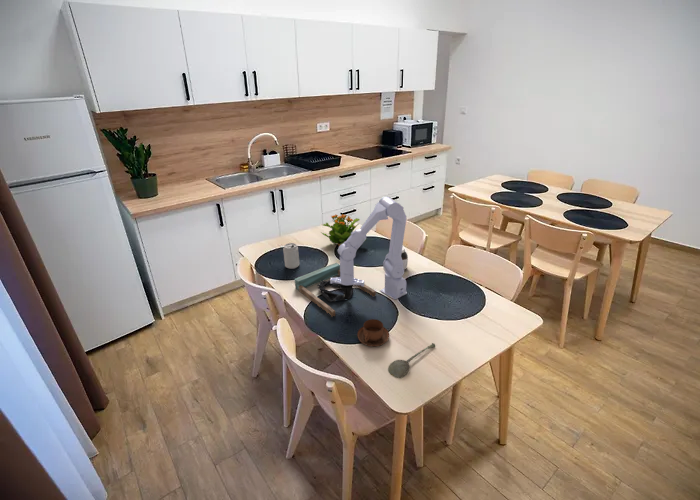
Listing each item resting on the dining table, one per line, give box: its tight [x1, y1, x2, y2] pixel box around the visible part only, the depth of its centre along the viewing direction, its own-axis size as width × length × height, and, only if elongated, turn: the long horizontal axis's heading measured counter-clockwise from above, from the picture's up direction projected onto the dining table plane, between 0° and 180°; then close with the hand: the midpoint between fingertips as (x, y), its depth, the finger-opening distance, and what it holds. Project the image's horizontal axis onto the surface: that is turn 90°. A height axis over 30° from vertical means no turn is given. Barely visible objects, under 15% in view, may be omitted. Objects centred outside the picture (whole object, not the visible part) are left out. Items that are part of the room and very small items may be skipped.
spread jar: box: [383, 245, 409, 272], centre depth 178 cm, size 12×11×12 cm
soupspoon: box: [387, 342, 436, 379], centre depth 124 cm, size 22×3×7 cm
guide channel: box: [294, 262, 377, 318], centre depth 163 cm, size 29×24×5 cm
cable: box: [316, 279, 354, 303], centre depth 163 cm, size 17×14×4 cm
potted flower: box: [320, 214, 367, 247], centre depth 204 cm, size 25×24×18 cm
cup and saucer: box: [356, 318, 390, 347], centre depth 134 cm, size 12×12×6 cm
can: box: [282, 242, 300, 270], centre depth 184 cm, size 8×8×12 cm
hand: (347, 298), depth 156 cm, fingers closed
